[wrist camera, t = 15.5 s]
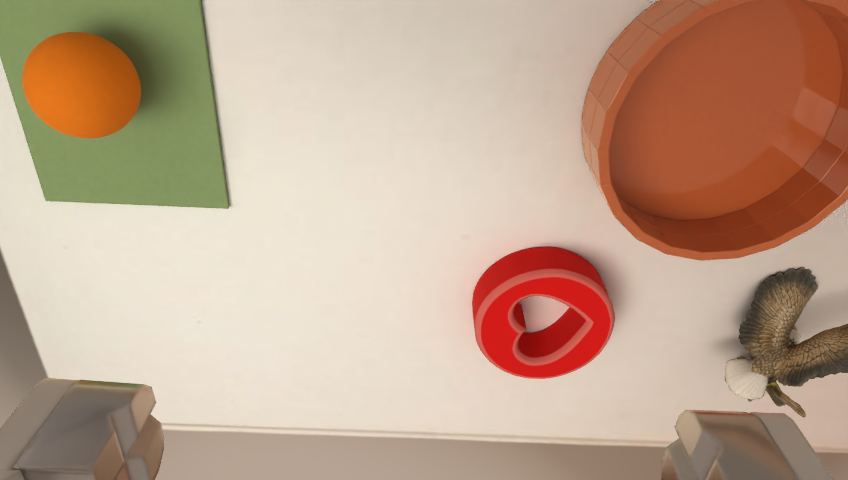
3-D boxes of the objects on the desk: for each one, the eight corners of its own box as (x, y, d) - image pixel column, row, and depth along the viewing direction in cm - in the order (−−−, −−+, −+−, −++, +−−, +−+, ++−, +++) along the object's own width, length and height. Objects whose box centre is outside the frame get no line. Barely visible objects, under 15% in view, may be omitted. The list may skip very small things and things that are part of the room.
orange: (39, 62, 35) (-25, 92, 30) (99, -1, 33) (41, 21, 28) (118, 134, 37) (70, 174, 32) (177, 79, 35) (137, 112, 30)
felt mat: (-51, -116, 31) (-55, -116, 30) (186, -104, 31) (184, -104, 31) (48, 198, 40) (45, 200, 40) (229, 206, 40) (228, 208, 40)
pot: (531, 89, 36) (544, 114, 32) (792, -94, 31) (845, -90, 27) (650, 263, 42) (672, 301, 38) (882, 134, 37) (935, 164, 33)
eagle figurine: (811, 383, 46) (894, 307, 41) (797, 447, 42) (890, 371, 36) (717, 328, 49) (782, 249, 43) (694, 382, 44) (764, 301, 38)
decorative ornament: (625, 316, 45) (638, 345, 42) (512, 369, 48) (517, 399, 45) (567, 223, 41) (577, 248, 38) (446, 287, 43) (448, 314, 41)
